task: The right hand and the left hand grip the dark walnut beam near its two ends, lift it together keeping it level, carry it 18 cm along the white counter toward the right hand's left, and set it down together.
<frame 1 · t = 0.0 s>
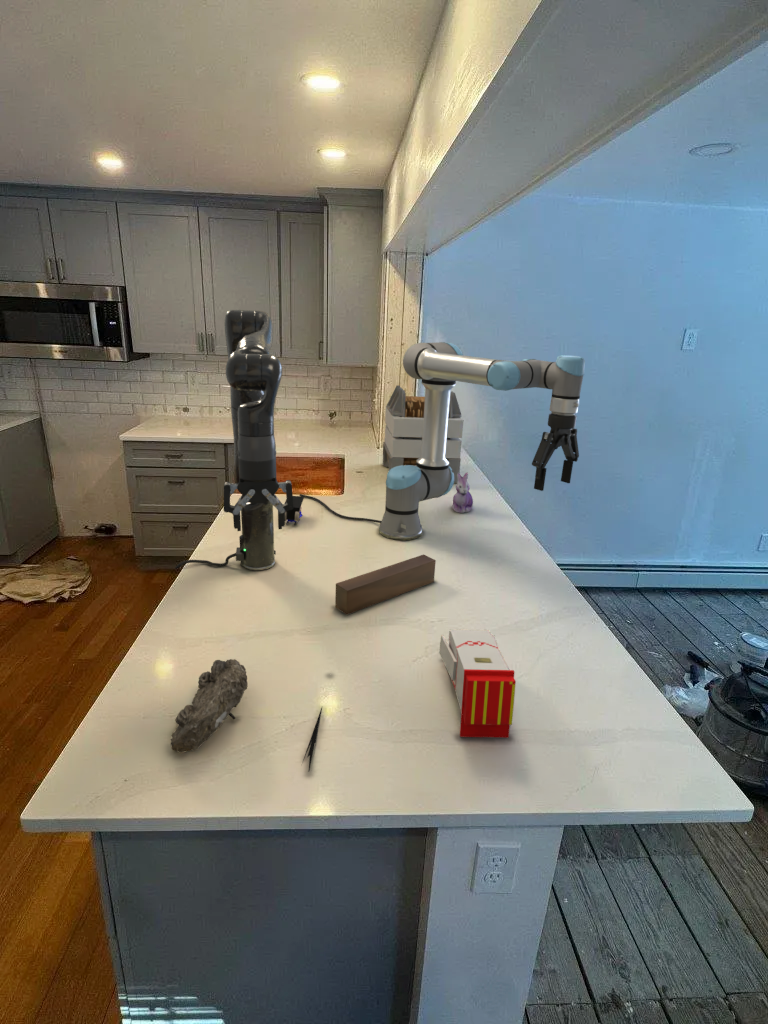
left hand: (259, 529, 121), 29 cm above the counter, fingers open, 8 cm apart
right hand: (552, 485, 166), 28 cm above the counter, fingers open, 13 cm apart
walnut beam: (387, 593, 158), on the counter
feather: (319, 719, 109), on the counter
figurine: (462, 509, 227), on the counter
toy: (471, 691, 119), on the counter
grey slatted crate: (418, 473, 275), on the counter
fossil: (215, 716, 108), on the counter
figurine character: (293, 520, 208), on the counter
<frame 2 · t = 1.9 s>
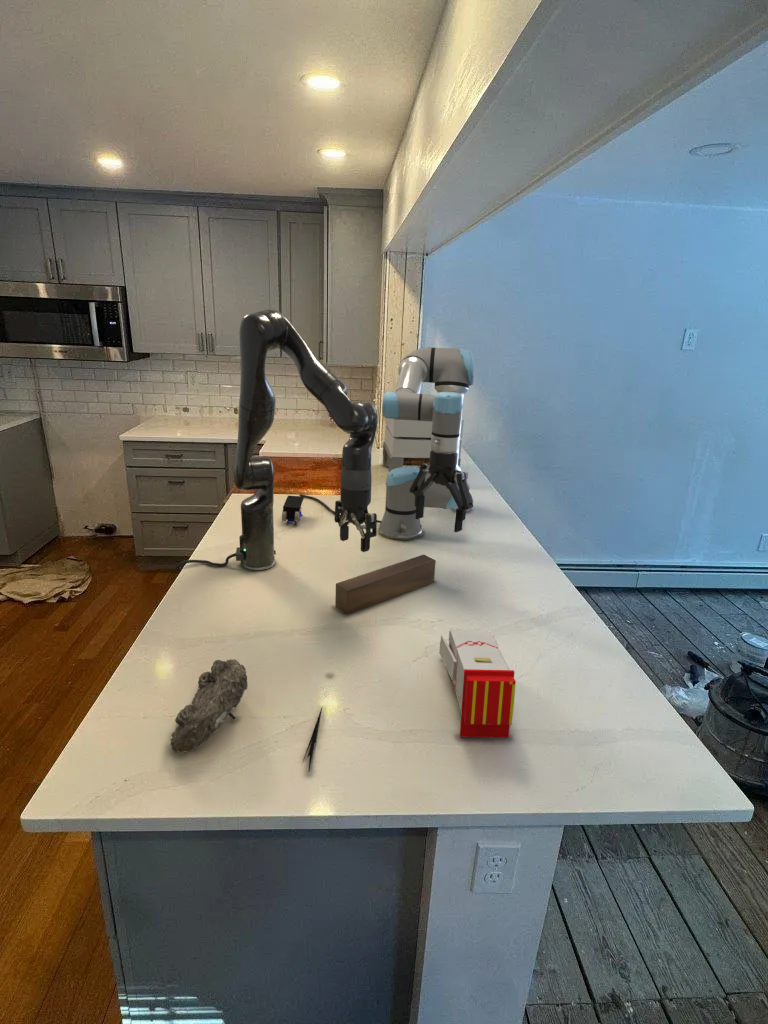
left hand: (354, 545, 144), 18 cm above the counter, fingers open, 8 cm apart
right hand: (438, 524, 160), 18 cm above the counter, fingers open, 13 cm apart
nothing on the counter moved.
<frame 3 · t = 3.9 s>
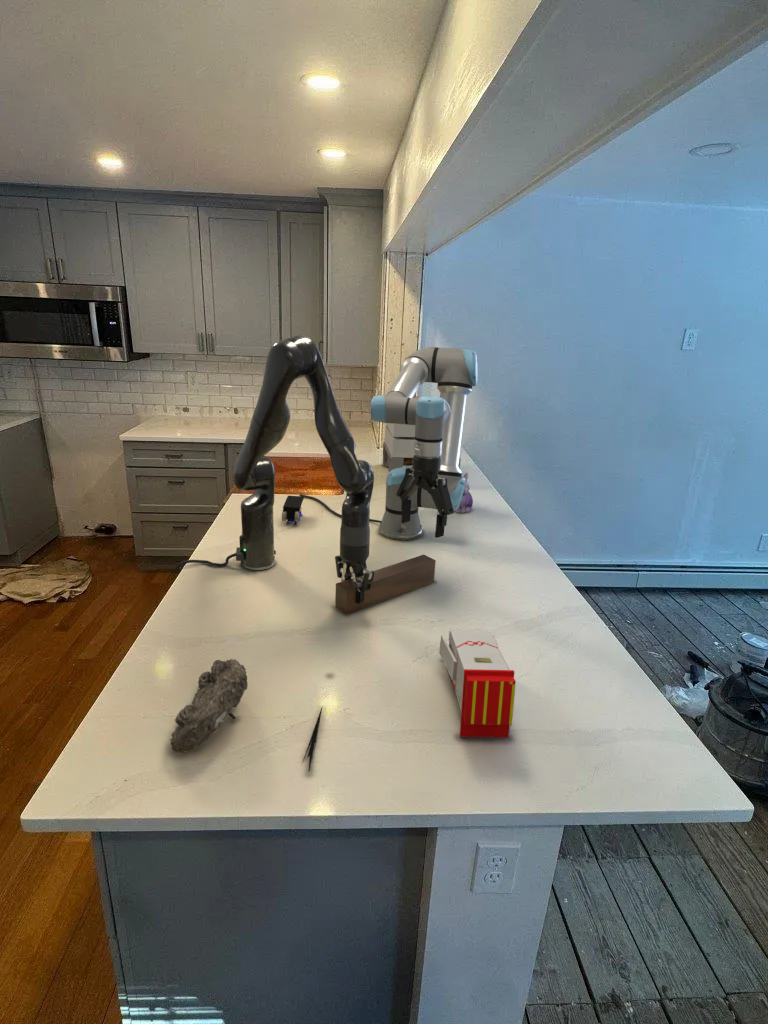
left hand: (353, 598, 149), 2 cm above the counter, fingers closed on walnut beam, 5 cm apart
right hand: (422, 529, 159), 17 cm above the counter, fingers open, 13 cm apart
walnut beam: (387, 593, 158), on the counter, touching left hand
everything else where it was.
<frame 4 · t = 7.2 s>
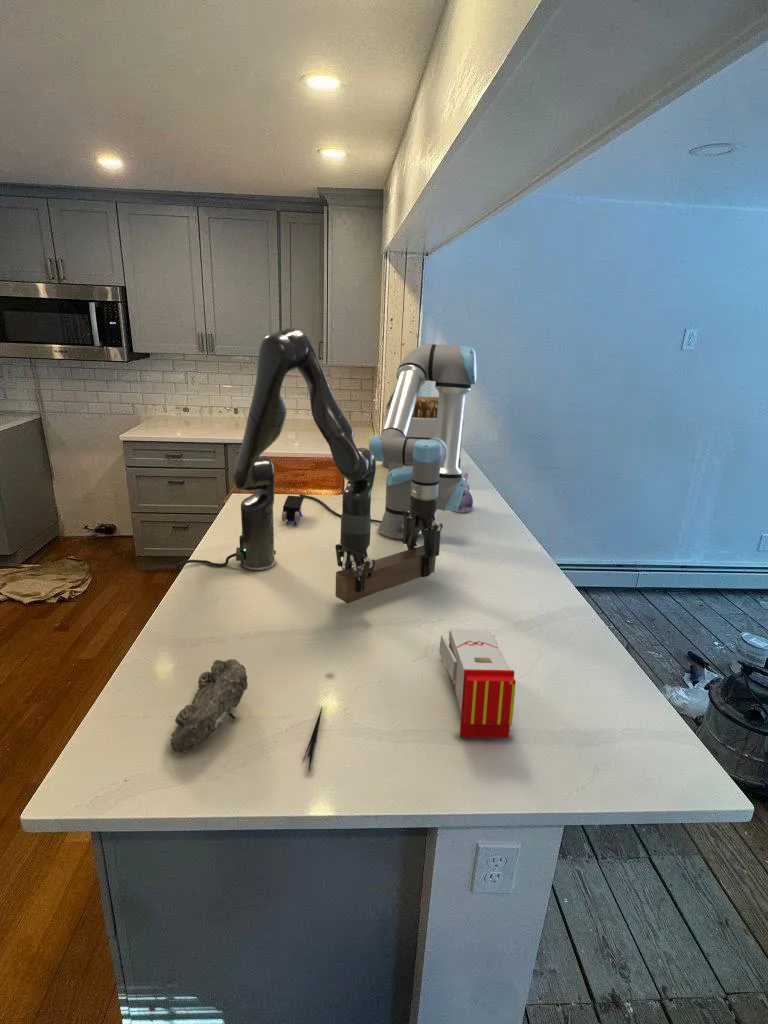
left hand: (353, 587, 149), 6 cm above the counter, fingers closed on walnut beam, 5 cm apart
right hand: (418, 572, 164), 3 cm above the counter, fingers closed on walnut beam, 5 cm apart
walnut beam: (387, 583, 157), point 3 cm above the counter, touching right hand, left hand
everything else where it was.
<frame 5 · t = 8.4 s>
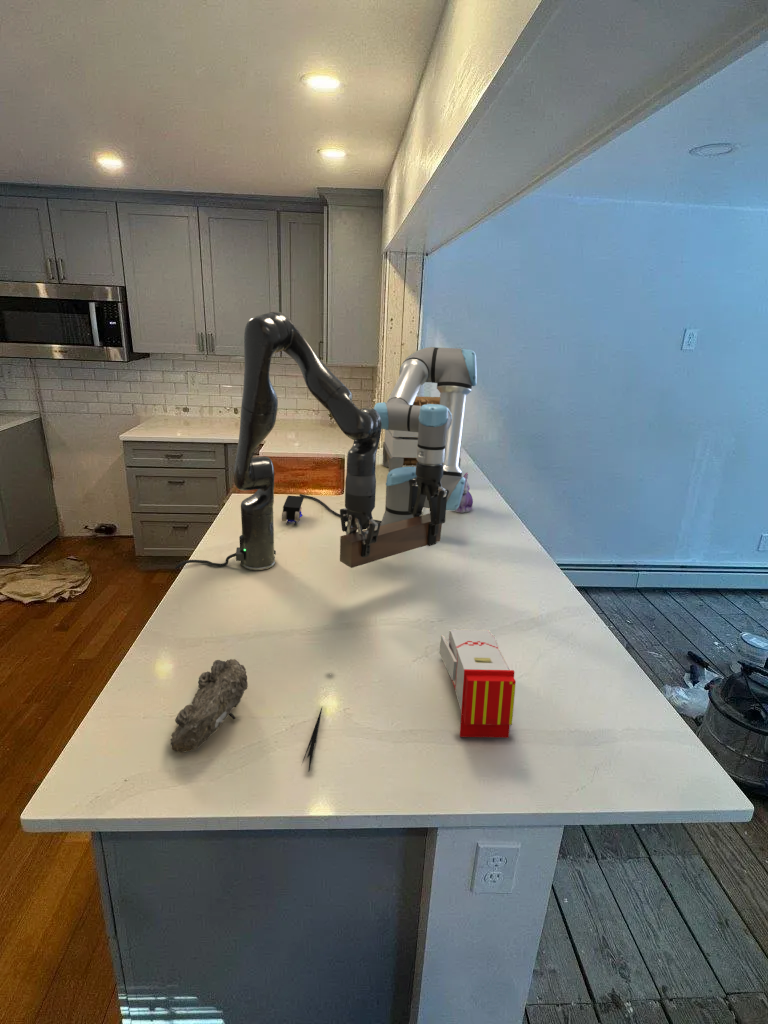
left hand: (358, 552, 146), 15 cm above the counter, fingers closed on walnut beam, 5 cm apart
right hand: (424, 541, 162), 13 cm above the counter, fingers closed on walnut beam, 5 cm apart
walnut beam: (392, 550, 154), point 13 cm above the counter, touching right hand, left hand
everything else where it was.
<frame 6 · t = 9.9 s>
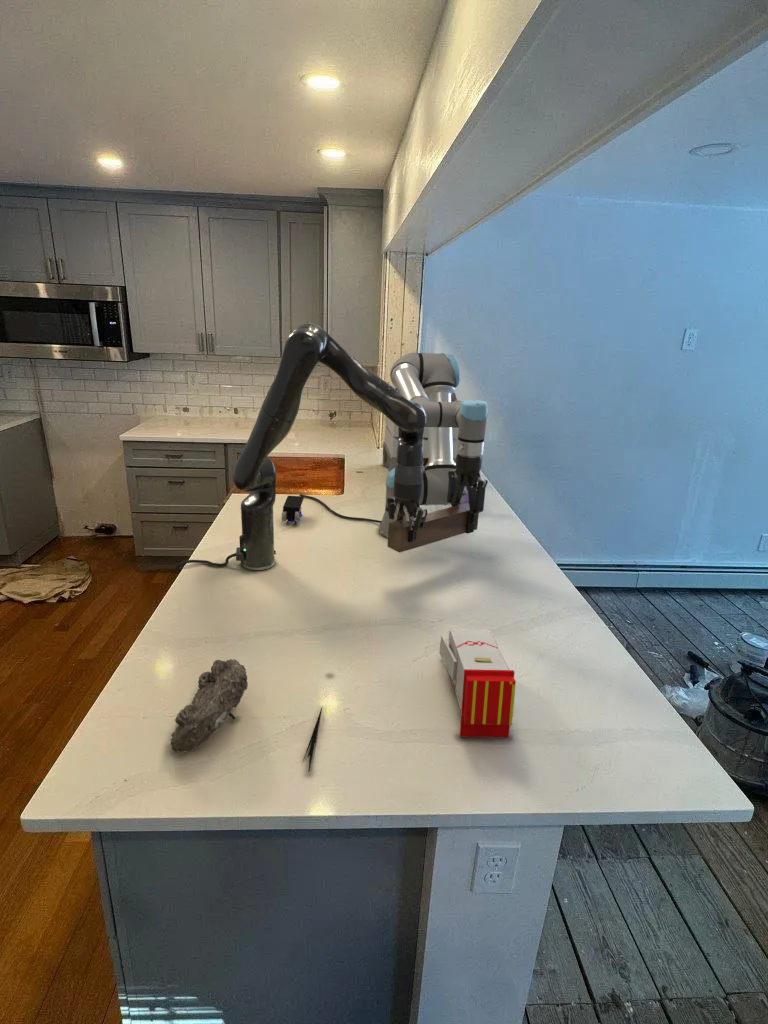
left hand: (404, 538, 156), 15 cm above the counter, fingers closed on walnut beam, 5 cm apart
right hand: (462, 529, 172), 13 cm above the counter, fingers closed on walnut beam, 5 cm apart
walnut beam: (434, 537, 164), point 13 cm above the counter, touching right hand, left hand
everything else where it was.
when the right hand's fingers open (1 cm above the counter, at t = 12.6 s): walnut beam stays where it is, on the counter.
when the left hand's fingers open (3 cm above the counter, at t = 12.8 s): walnut beam stays where it is, on the counter.
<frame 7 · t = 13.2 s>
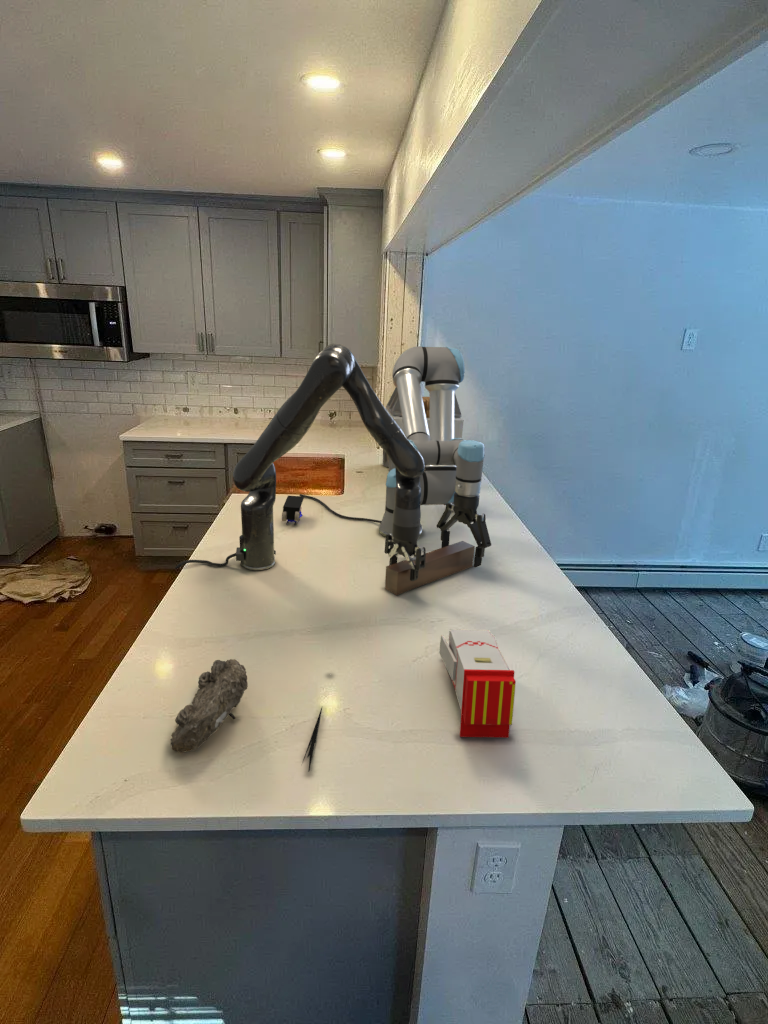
left hand: (403, 574, 160), 4 cm above the counter, fingers open, 8 cm apart
right hand: (460, 558, 176), 3 cm above the counter, fingers open, 13 cm apart
walnut beam: (430, 577, 169), on the counter
everything else where it was.
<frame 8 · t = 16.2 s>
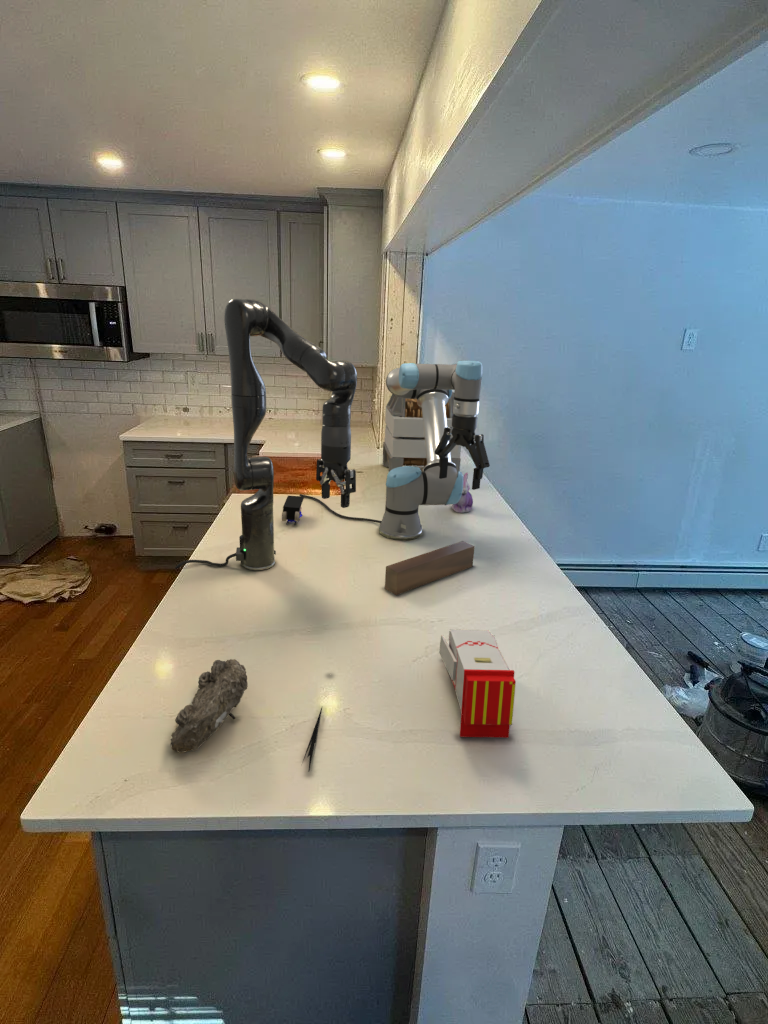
left hand: (335, 502, 149), 26 cm above the counter, fingers open, 8 cm apart
right hand: (458, 483, 175), 25 cm above the counter, fingers open, 13 cm apart
nothing on the counter moved.
at the end: walnut beam inside the target area (0.6 cm from its centre), on the counter; both hands held the walnut beam at the same time; walnut beam never tilted more than 8° during the clip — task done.
